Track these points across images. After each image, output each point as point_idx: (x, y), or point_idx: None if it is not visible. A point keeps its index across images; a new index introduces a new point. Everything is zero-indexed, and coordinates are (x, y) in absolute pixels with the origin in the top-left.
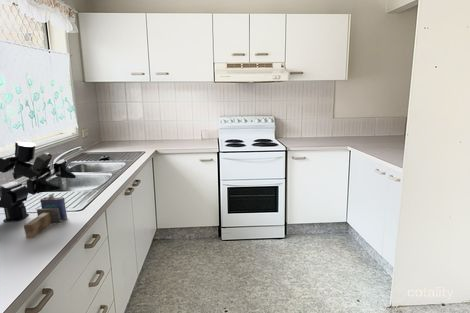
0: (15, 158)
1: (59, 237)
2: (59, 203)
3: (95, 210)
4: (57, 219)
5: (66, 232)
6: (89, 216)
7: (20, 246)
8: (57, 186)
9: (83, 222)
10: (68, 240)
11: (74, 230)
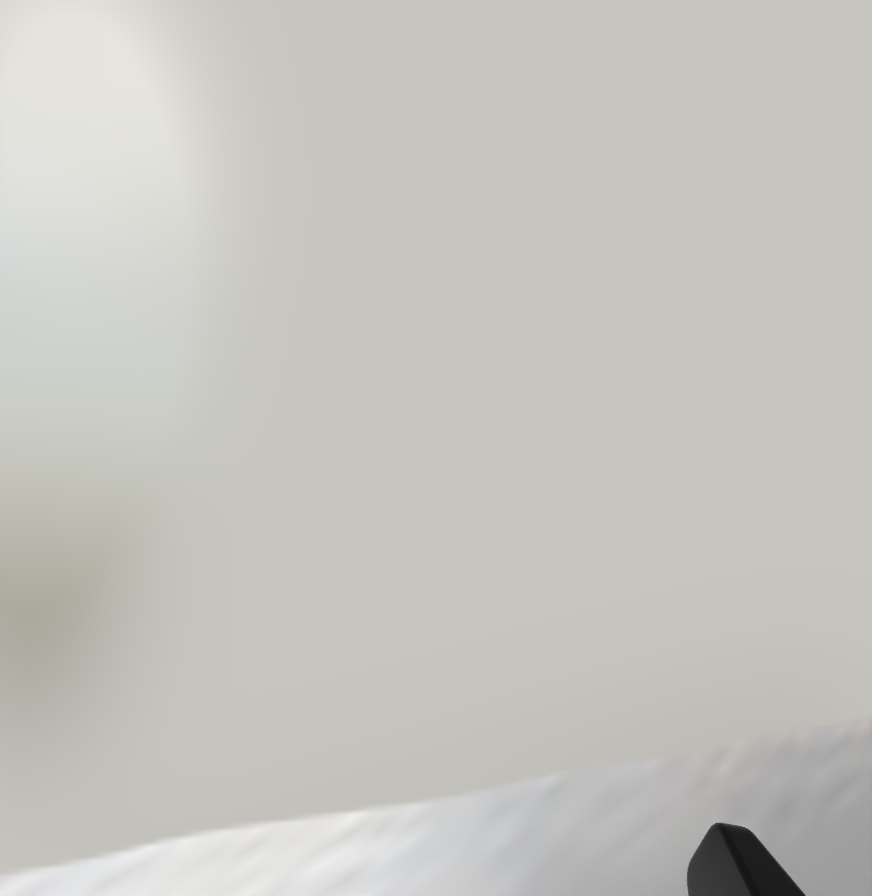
0: None
1: (865, 874)
2: None
3: (38, 879)
4: None
5: None
6: (259, 847)
7: None
8: (783, 875)
9: (448, 820)
10: (867, 726)
11: (665, 801)
